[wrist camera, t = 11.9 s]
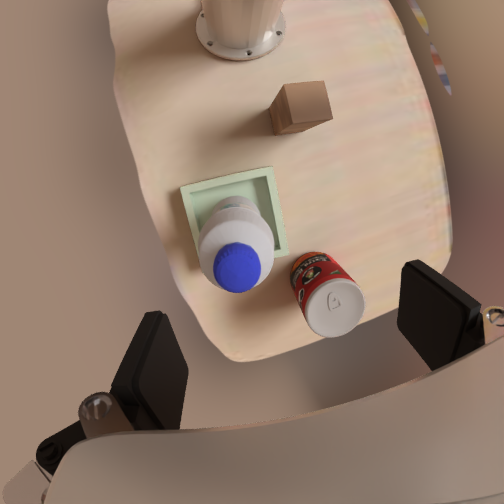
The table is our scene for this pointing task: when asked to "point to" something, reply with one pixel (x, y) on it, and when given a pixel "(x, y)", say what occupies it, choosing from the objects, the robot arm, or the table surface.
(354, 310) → the canned food
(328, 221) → the table surface
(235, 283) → the bottle
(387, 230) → the table surface
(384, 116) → the table surface
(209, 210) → the tray
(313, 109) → the walnut post
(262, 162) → the table surface
